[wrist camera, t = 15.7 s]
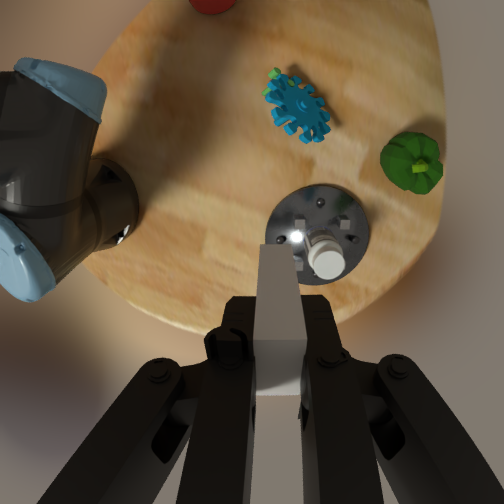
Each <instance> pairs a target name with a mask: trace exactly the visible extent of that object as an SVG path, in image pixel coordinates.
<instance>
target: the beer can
mask: <svg viewBox="0 0 504 504" xmlns="http://www.w3.org/2000/svg"><path fill="white" fill-rule="evenodd" d="M189 1H190V3H191V4H192V5H193V7H194V8H195V9H196V10H197V11H199V12H201V13H205V14H217V13H221V12H223V11H225V10H227V9H229V8H230V7H231V6H232V5H233V4H234V3H235V1H236V0H189Z"/></svg>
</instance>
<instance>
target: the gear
mask: <svg viewBox="0 0 504 504" xmlns="http://www.w3.org/2000/svg"><path fill="white" fill-rule="evenodd" d="M279 74H280V75H279ZM268 76H269V77H270V78H271V79H272V80H270V81H269V83H268V84H267V86H268V87H267V88H266V89H265V90H264V91H263V92H262V95H263V96H266V97H265V100H266V101H267V102H269V103H274V104H276V105H278V106H279V107H280V108H279V107H275V108H274V109H273V110H271V114H272V116H273V119H275V121H274V124H275V125H276V126H280V125H282V124H283V123H285V122H286V121H288V120H289V119H290V120H291V121H292V123H288V124H287V125H285V126H284V127H283V128H284V130H285V131H286V133H287V134H288V135H292V134H294V133H295V132H296V131H297V128H298V126H300V127H301V128H302V129H303V131H304V132H303V133H302V134H301V135H299V139H300V140H301V141H302V142H304V143H306V144H307V143H309V142H311V141H312V139H313V141H314V142H321V141H323V140H324V136H323V135H325V134H327V133H329V132H330V130H331V129H330V127H329V126H328V125H327V124H326V123H325V122H327V121H329V120H330V114H329V113H328V112H325V111H323V110H321V109H320V108H321V107H322V106H324V105H325V103H324V100H323V98H321V97H319V98H313V97H311V96H310V94H311V93H313V92H314V91H315V90H314V88H313V87H312V86H311V85H310V84H308V85H306V86H305V87H304V89H303V90H302V89H300V88H299V87H298V85H299V84H300V83H301V82H302V80H301V79H300V78H299V77H297V76H295V75H294V76H293V77H292V78H290V80H289V78H288V76H287V75H285V74H281V71H280V69H278V68H274V69H273V70H272V71H271V72H269V73H268ZM272 90H273V91H272ZM281 108H282V109H283V110H282V109H281ZM311 129H312V130H313V136H311Z"/></svg>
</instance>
